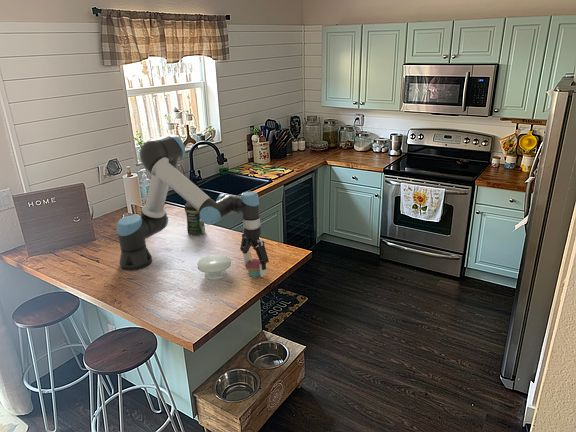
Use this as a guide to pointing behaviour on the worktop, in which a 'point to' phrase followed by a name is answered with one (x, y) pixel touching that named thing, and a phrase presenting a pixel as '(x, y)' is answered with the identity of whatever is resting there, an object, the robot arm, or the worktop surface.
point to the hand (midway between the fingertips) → (255, 270)
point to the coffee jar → (194, 220)
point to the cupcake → (253, 266)
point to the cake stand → (214, 266)
